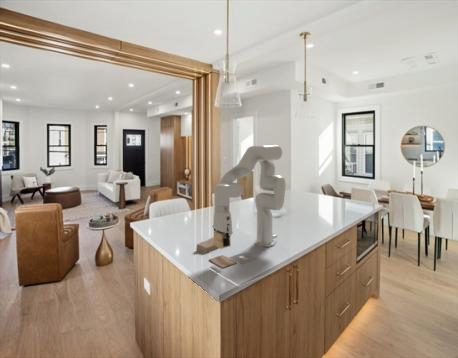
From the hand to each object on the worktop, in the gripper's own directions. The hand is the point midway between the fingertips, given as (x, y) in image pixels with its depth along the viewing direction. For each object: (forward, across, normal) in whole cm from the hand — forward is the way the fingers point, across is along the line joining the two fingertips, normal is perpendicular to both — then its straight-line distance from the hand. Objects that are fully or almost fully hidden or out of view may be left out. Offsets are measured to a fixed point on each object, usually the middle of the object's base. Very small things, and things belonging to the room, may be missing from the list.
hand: (222, 243), depth 130 cm
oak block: (+1, 0, 0) cm, 1 cm away
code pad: (+10, -3, -12) cm, 16 cm away
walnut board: (+10, 0, 0) cm, 10 cm away
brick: (+11, +21, -7) cm, 24 cm away
